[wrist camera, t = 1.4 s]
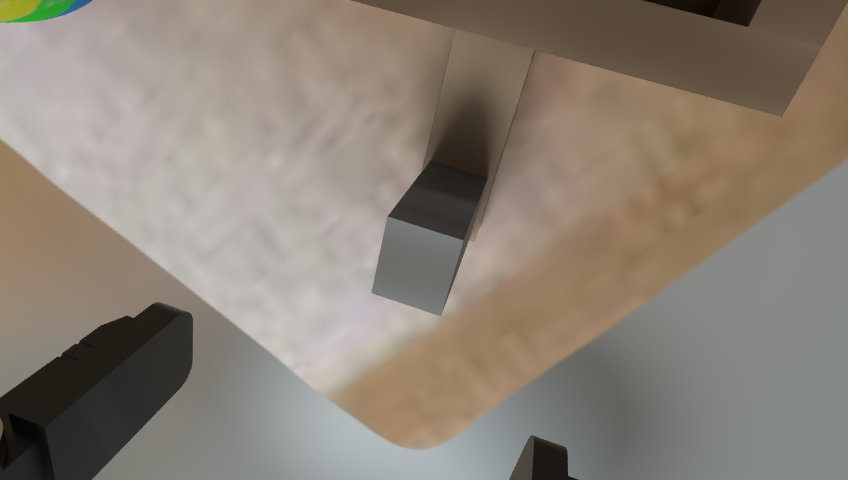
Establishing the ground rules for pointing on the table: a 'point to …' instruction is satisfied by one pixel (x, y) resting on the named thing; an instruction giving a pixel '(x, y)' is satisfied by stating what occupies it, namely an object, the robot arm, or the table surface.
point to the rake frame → (587, 43)
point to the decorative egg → (37, 9)
